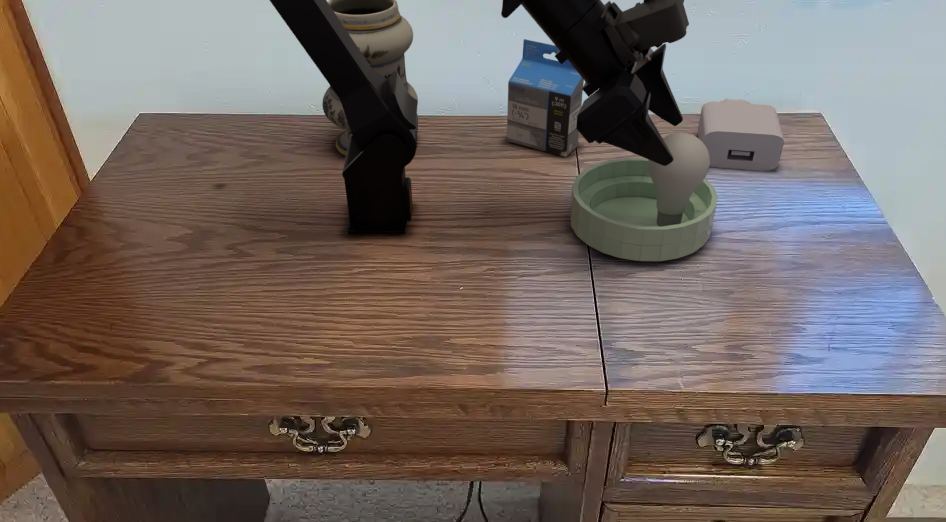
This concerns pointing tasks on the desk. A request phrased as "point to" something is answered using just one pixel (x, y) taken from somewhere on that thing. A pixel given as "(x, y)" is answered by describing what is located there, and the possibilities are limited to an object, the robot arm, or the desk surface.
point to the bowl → (636, 213)
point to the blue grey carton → (544, 101)
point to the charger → (741, 135)
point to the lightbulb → (678, 176)
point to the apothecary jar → (371, 48)
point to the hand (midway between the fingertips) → (674, 142)
